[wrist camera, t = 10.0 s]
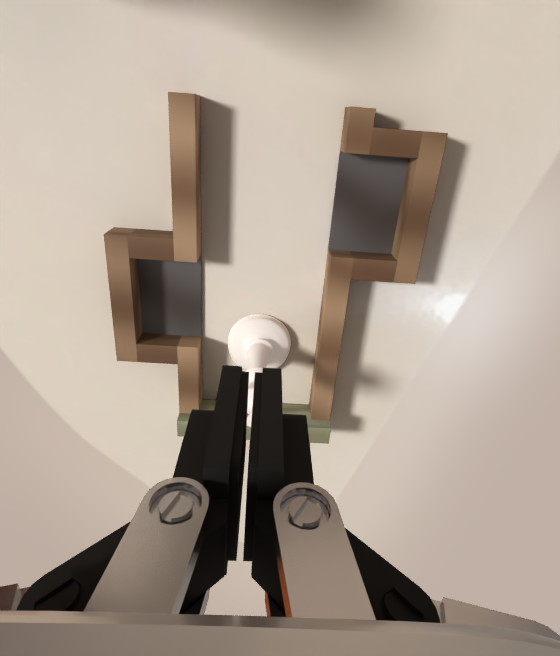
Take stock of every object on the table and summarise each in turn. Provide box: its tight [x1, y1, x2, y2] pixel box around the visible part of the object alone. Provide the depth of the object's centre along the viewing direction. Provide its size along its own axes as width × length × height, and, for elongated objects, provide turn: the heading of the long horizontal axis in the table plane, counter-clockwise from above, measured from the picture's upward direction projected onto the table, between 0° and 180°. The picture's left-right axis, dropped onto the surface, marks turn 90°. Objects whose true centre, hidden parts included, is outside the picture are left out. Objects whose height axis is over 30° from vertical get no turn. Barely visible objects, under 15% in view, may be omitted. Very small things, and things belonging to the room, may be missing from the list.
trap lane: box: [104, 92, 448, 444], centre depth 31 cm, size 24×21×3 cm
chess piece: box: [228, 314, 291, 427], centre depth 30 cm, size 5×5×10 cm
